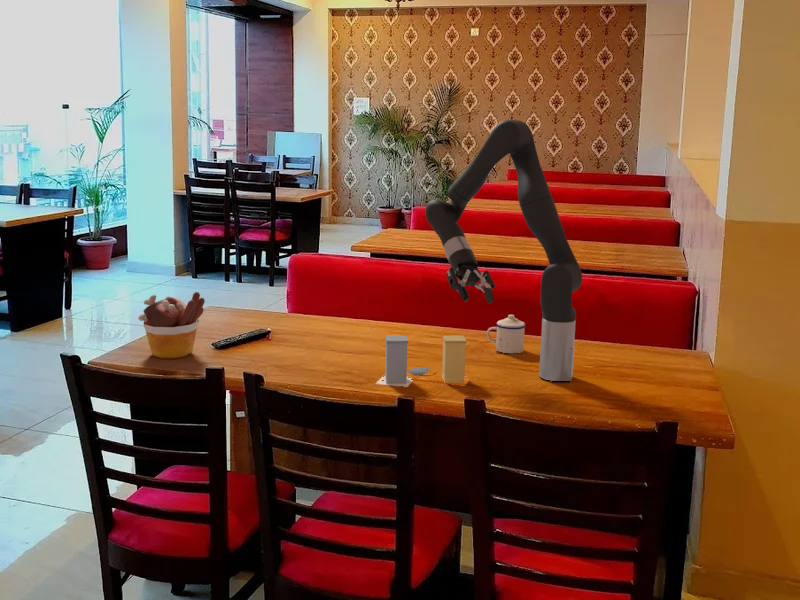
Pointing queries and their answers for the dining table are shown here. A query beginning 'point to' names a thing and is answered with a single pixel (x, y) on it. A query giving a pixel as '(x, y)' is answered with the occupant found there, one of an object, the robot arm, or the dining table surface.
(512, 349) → the teacup with lid
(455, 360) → the ochre tea tin
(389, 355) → the slate tea tin
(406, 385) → the cream tile
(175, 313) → the bucket of meat
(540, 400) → the dining table surface
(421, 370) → the felt coaster
